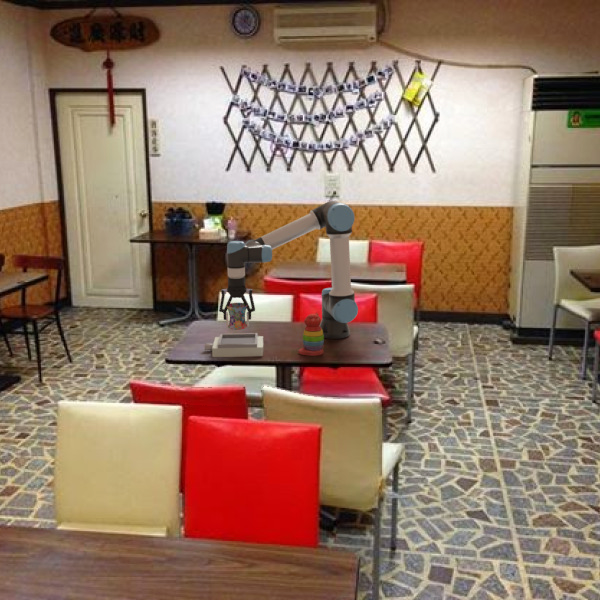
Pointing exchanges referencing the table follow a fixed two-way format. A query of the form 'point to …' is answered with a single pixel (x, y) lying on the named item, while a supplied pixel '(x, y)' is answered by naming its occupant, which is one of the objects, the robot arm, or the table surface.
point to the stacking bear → (312, 336)
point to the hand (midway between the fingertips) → (237, 326)
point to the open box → (236, 345)
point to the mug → (237, 316)
